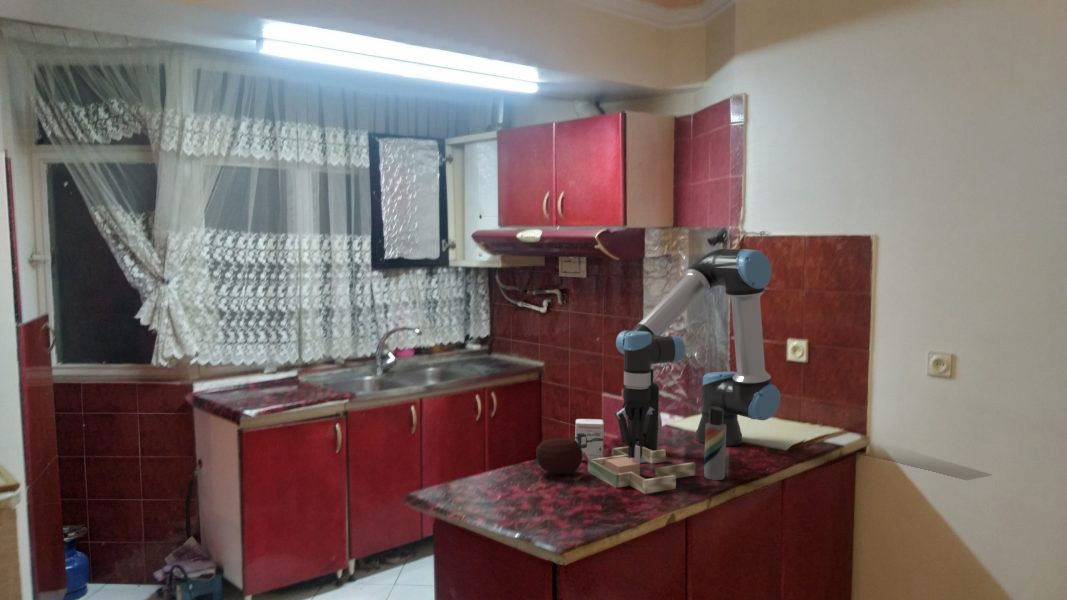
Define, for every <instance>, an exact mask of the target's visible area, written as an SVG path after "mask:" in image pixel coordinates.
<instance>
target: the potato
mask: <svg viewBox="0 0 1067 600" xmlns="http://www.w3.org/2000/svg"><path fill="white" fill-rule="evenodd" d="M535 455H536V457H535V458H536V461H537V463H538V465H539V466H540V468H542V470H544V471H546V472H547V473H549V474H552V475H557V476H566V475H570V474H572V473H574V472H576V471H577V470H578V469H579V468H580V466H581V464H582V462H583V461H582V458H583V457H582V450H581V447H580V445H579V444H578V443H577V442H576V440H575V438H570V437H557V438H549V439H546V440H544V441H541V442H540V443H539V444H538V445H537V446H536V451H535Z"/></svg>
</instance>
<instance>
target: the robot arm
mask: <svg viewBox="0 0 1067 600" xmlns="http://www.w3.org/2000/svg"><path fill="white" fill-rule="evenodd" d="M770 279H772V265H771V261H770V260H769V258H768V257H767V255H765V254H764V253H763V252H762V251H760V250H758V249H749V248H718V249H714V250H712V251H710V252H708V253H706V254H704V255H703V256H701V257H700V258H698V259H697V260H696V261H695V262H694V263H692V265H691V266H689V267H688V268H687V269H686V270H685V272H684V277H683V278H682V279H681V280H680V281H679V282H678V283H677V284H676V285H675V286H674V287H673V288H672V289H671V290H670V291H669V292H668V293H667V294H666V295H665V296H664V297H663V298H662V299H661V300H660V301H659V302H658V303H657V304H656V305H655V306H654V307H653V308H652V309H651V310H650V311H649V313H648V314H646V315H645V316H644V317H643V318H642V319H641V321H640V322H638V323H637V324H636V326H634V327H633V329H631V330H630V329H628V330H627V329H626V330H622V331H621V332H619V333H618V334H617V337H616V339H615V346H616V349H617V351H618V352H619V353H620V354H622V355H623V385H624V387H623V393H622V396H623V397H622V398H623V399H622V400H623V405H622V408H621V409H620V410H619V411H615V412H614V415H615V417H616V419H617V421H618V427H619V432H620V438H621V442H622V444H624V445H626V446H628V456H629V457H630V459H631V460H633V461H635V462H637V463H639V464H640V457H642V447H644V446H645V443H648V442H649V438H650V433H651V429H652V424H653V420H654V417H655V415H656V413H657V410H655V409H653V408H651V407H650V403H649V400H650V388H649V386H650V385H651V364H654V365H655V364H667V363H669V364H672V363H675V362H680V361H681V360H682V359H684V356H685V354H686V353H685V352H686V346H685V343H684V341H683V339H681V337H679V336H673V335H668V336H663V334H664V333H666V331H667V330H668V329H669V328H670V327H671V326H672V325H673V324H674V323H675V322H676V321H677V319H679V318H680V317H681V316H682V315H683V314H684V313H685V312H686V311H687V310H688V308H689V307H691V305H692V304H693V303H694V302H695V301H696V300H697V299H698V298H699V297H700V296H701V295H702V294H707V293H708V292H709V291H710V290H711V289H713V288H715V287H719V286H723V287H724V289H725V295H726V296H727V297H728V298H730V300H731V301H730V302H731V311H732V312H731V314H732V325H733V327H732V328H733V337H734V340H733V341H734V351H735V365H736V371H712V372H707V373H705V374H704V375H703V378H702V385H701V386H702V387H701V388H702V390H701V395H702V396H701V417H700V420H699V423H698V427H697V429H696V431H695V440H696V441H697V442H700V443H702V444H705V428H706V423H709V410H710V409H711V407H712V406H715V407H720V408H723V424H725V425H726V447H733V446H738V445H741V444H742V443H743V434H742V430H741V427H740V426H741V425H740V423H739V418H738V416H741V417H745V418H748V419H751V420H757V421H767V420H769V419H771V418H772V417H773V416H774V415H775V414H776V412H777V410H778V408H779V405H780V402H781V392H780V390H779V388H778V387H777V386H776V385H774V384H772V379H771V377H772V376H771V374H769V373H768V372H767V371H766V365H765V364H766V363H765V362H766V361H765V351H764V337H763V336H764V335H763V324H762V309H761V296H762V295H763V294H764V293H765V287H767V286H768V284H770V281H771V280H770ZM646 413H647V414H646ZM645 415H646V417H645ZM640 465H641V464H640Z"/></svg>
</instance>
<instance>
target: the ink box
mask: <svg viewBox="0 0 1067 600" xmlns="http://www.w3.org/2000/svg"><path fill="white" fill-rule="evenodd" d="M604 425H605V424H604V420H603V419H596V418H594V419H593V418H576V419H575V428H574V429H575V431H574V432H575V433H574V434H575V435H574V440H576V442H577V443H578V444H579V445H580V447H581V450H582V457H583V458H582V462H588V460H590V459H597V458H604V429H605V427H604Z"/></svg>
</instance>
